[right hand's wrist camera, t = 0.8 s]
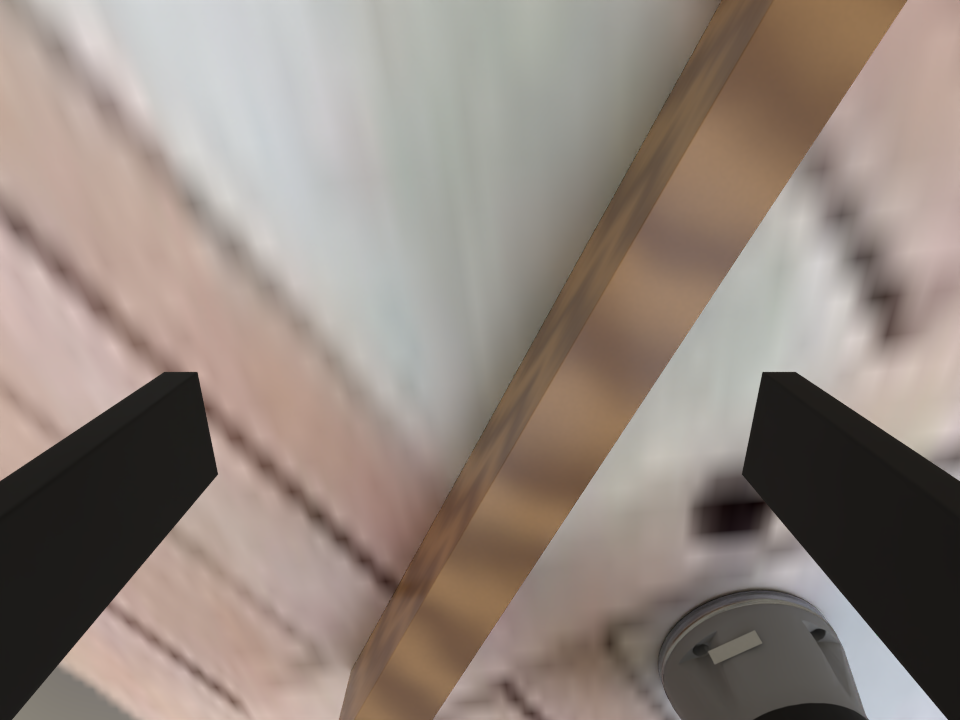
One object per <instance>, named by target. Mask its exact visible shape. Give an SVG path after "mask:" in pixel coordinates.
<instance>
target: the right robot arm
mask: <svg viewBox="0 0 960 720" xmlns="http://www.w3.org/2000/svg"><path fill="white" fill-rule="evenodd" d="M217 475H218V472H217V467H216V462H215V457H214V452H213V447H212V442H211V437H210V432H209V427H208V422H207V417H206V412H205V407H204V402H203V398H202V393H201V388H200V383H199V378H198V373H197V372H164V373H162V374H161V375H159V376H158V377H156V378H155V379H153V380H152V381H150V382H149V383H147V384H146V385H144V386H143V387H141V388H140V389H138V390H137V391H135V392H134V393H132V394H131V395H129V396H128V397H126V398H125V399H123V400H122V401H120V402H119V403H117V404H116V405H114V406H113V407H111V408H110V409H108V410H107V411H105V412H104V413H102V414H101V415H99V416H98V417H96V418H95V419H93V420H92V421H90V422H89V423H87V424H86V425H84V426H83V427H81V428H80V429H78V430H77V431H75V432H74V433H72V434H71V435H69V436H68V437H66V438H65V439H63V440H62V441H60V442H59V443H57V444H55V445H54V446H52V447H51V448H49V449H48V450H46V451H45V452H43V453H42V454H40V455H39V456H37V457H36V458H34V459H33V460H31V461H30V462H28V463H27V464H25V465H24V466H22V467H21V468H19V469H18V470H16V471H15V472H13V473H12V474H10V475H9V476H7V477H6V478H4V479H3V480H1V481H0V720H12V719H13V718H14V717H15V715H16V714H17V713H18V712H19V711H20V710H21V708H22V707H23V706H24V705H25V703H26V702H27V701H28V700H29V699H30V698H31V696H32V695H33V694H34V693H35V692H36V690H37V689H38V688H39V687H40V686H41V684H42V683H43V682H44V681H45V680H46V679H47V677H48V676H49V675H50V674H51V673H52V671H53V670H54V669H55V668H56V667H57V665H58V664H59V663H60V662H61V661H62V660H63V658H64V657H65V656H66V655H67V654H68V652H69V651H70V650H71V649H72V648H73V646H74V645H75V644H76V643H77V642H78V640H79V639H80V638H81V637H82V636H83V634H84V633H85V632H86V631H87V630H88V629H89V627H90V626H91V625H92V624H93V623H94V621H95V620H96V619H97V618H98V617H99V615H100V614H101V613H102V612H103V611H104V609H105V608H106V607H107V606H108V605H109V604H110V602H111V601H112V600H113V599H114V598H115V596H116V595H117V594H118V593H119V592H120V590H121V589H122V588H123V587H124V586H125V584H126V583H127V582H128V581H129V580H130V579H131V577H132V576H133V575H134V574H135V573H136V571H137V570H138V569H139V568H140V567H141V565H142V564H143V563H144V562H145V561H146V559H147V558H148V557H149V556H150V555H151V553H152V552H153V551H154V550H155V549H156V548H157V546H158V545H159V544H160V543H161V542H162V540H163V539H164V538H165V537H166V536H167V534H168V533H169V532H170V531H171V530H172V528H173V527H174V526H175V525H176V524H177V523H178V521H179V520H180V519H181V518H182V517H183V515H184V514H185V513H186V512H187V511H188V509H189V508H190V507H191V506H192V505H193V503H194V502H195V501H196V500H197V499H198V498H199V496H200V495H201V494H202V493H203V492H204V490H205V489H206V488H207V487H208V486H209V484H210V483H211V482H212V481H213V480H214V478H215V477H216V476H217ZM742 475H743V476H744V477H745V478H746V480H747V481H748V482H749V483H750V484H751V486H752V487H753V488H754V489H755V490H756V492H757V493H758V494H759V495H760V496H761V498H762V499H763V500H764V501H765V502H766V503H767V505H768V506H769V507H770V508H771V509H772V511H773V512H774V513H775V514H776V515H777V517H778V518H779V519H780V520H781V521H782V523H783V524H784V525H785V526H786V527H787V528H788V530H789V531H790V532H791V533H792V534H793V536H794V537H795V538H796V539H797V540H798V542H799V543H800V544H801V545H802V546H803V548H804V549H805V550H806V551H807V552H808V553H809V555H810V556H811V557H812V558H813V559H814V561H815V562H816V563H817V564H818V565H819V567H820V568H821V569H822V570H823V571H824V573H825V574H826V575H827V576H828V577H829V579H830V580H831V581H832V582H833V583H834V584H835V586H836V587H837V588H838V589H839V590H840V592H841V593H842V594H843V595H844V596H845V598H846V599H847V600H848V601H849V602H850V604H851V605H852V606H853V607H854V608H855V609H856V611H857V612H858V613H859V614H860V615H861V617H862V618H863V619H864V620H865V621H866V623H867V624H868V625H869V626H870V627H871V629H872V630H873V631H874V632H875V633H876V634H877V636H878V637H879V638H880V639H881V640H882V642H883V643H884V644H885V645H886V646H887V648H888V649H889V650H890V651H891V652H892V654H893V655H894V656H895V657H896V658H897V660H898V661H899V662H900V663H901V664H902V665H903V667H904V668H905V669H906V670H907V671H908V673H909V674H910V675H911V676H912V677H913V679H914V680H915V681H916V682H917V683H918V685H919V686H920V687H921V688H922V689H923V690H924V692H925V693H926V694H927V695H928V696H929V698H930V699H931V700H932V701H933V702H934V704H935V705H936V706H937V707H938V708H939V710H940V711H941V712H942V713H943V714H944V715H945V717H946V718H947V719H948V720H960V481H959V480H957V479H956V478H954V477H953V476H951V475H950V474H948V473H947V472H945V471H944V470H942V469H941V468H939V467H938V466H936V465H935V464H933V463H932V462H930V461H929V460H927V459H926V458H924V457H923V456H921V455H920V454H918V453H917V452H915V451H914V450H912V449H911V448H909V447H908V446H906V445H905V444H903V443H901V442H900V441H898V440H897V439H895V438H894V437H892V436H891V435H889V434H888V433H886V432H885V431H883V430H882V429H880V428H879V427H877V426H876V425H874V424H873V423H871V422H870V421H868V420H867V419H865V418H864V417H862V416H861V415H859V414H858V413H856V412H855V411H853V410H852V409H850V408H849V407H847V406H846V405H844V404H843V403H841V402H840V401H838V400H837V399H835V398H834V397H832V396H831V395H829V394H828V393H826V392H825V391H823V390H822V389H820V388H819V387H817V386H816V385H814V384H813V383H811V382H810V381H808V380H807V379H805V378H804V377H802V376H801V375H799V374H798V373H796V372H763V373H762V378H761V383H760V388H759V393H758V398H757V402H756V407H755V412H754V417H753V422H752V427H751V432H750V437H749V442H748V447H747V452H746V457H745V462H744V467H743V472H742ZM658 669H659V675H660V678H661V681H662V684H663V687H664V690H665V693H666V695H667V697H668V699H669V701H670V703H671V704H672V706H673V708H674V710H675V711H676V713H677V714H678V715H679V717H680V718H681V719H682V720H869V719H868V718H867V716H866V714H865V711H864V708H863V705H862V702H861V699H860V696H859V693H858V690H857V688H856V685H855V682H854V679H853V676H852V673H851V670H850V667H849V664H848V661H847V658H846V655H845V652H844V649H843V646H842V644H841V642H840V641H839V639H838V637H837V635H836V633H835V631H834V630H833V628H832V627H831V626H830V624H829V623H828V622H827V620H826V619H825V618H824V616H823V615H822V614H821V613H820V612H819V611H818V610H817V609H816V608H815V607H814V606H812V605H811V604H810V603H808V602H806V601H804V600H803V599H800V598H798V597H796V596H793V595H790V594H786V593H781V592H775V591H746V592H740V593H734V594H730V595H726V596H723V597H720V598H717V599H715V600H712V601H710V602H708V603H706V604H704V605H702V606H700V607H698V608H697V609H695V610H693V611H692V612H690V613H689V614H688V615H686V616H685V617H684V618H683V619H682V620H680V621H679V622H678V623H677V624H676V625H675V627H674V628H673V629H672V630H671V631H670V633H669V634H668V636H667V637H666V639H665V641H664V643H663V645H662V648H661V650H660V654H659V660H658Z"/></svg>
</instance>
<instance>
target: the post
mask: <svg viewBox="0 0 960 720" xmlns="http://www.w3.org/2000/svg"><path fill="white" fill-rule="evenodd" d="M906 2H907V0H722V1H721V3H720V5H719V7H718V8H717V10H716V12H715V14H714V16H713V17H712V19H711V21H710V23H709V25H708V27H707V28H706V30H705V32H704V34H703V36H702V37H701V39H700V41H699V43H698V45H697V46H696V48H695V50H694V52H693V54H692V55H691V57H690V59H689V61H688V63H687V64H686V66H685V68H684V70H683V72H682V74H681V75H680V77H679V79H678V81H677V83H676V84H675V86H674V88H673V90H672V92H671V93H670V95H669V97H668V99H667V101H666V102H665V104H664V106H663V108H662V110H661V112H660V113H659V115H658V117H657V119H656V121H655V122H654V124H653V126H652V128H651V130H650V131H649V133H648V135H647V137H646V139H645V140H644V142H643V144H642V146H641V148H640V150H639V151H638V153H637V155H636V157H635V159H634V160H633V162H632V164H631V166H630V168H629V169H628V171H627V173H626V175H625V177H624V178H623V180H622V182H621V184H620V186H619V187H618V189H617V191H616V193H615V195H614V197H613V198H612V200H611V202H610V204H609V206H608V207H607V209H606V211H605V213H604V215H603V216H602V218H601V220H600V222H599V224H598V225H597V227H596V229H595V231H594V233H593V235H592V236H591V238H590V240H589V242H588V244H587V245H586V247H585V249H584V251H583V253H582V254H581V256H580V258H579V260H578V262H577V263H576V265H575V267H574V269H573V271H572V273H571V274H570V276H569V278H568V280H567V282H566V283H565V285H564V287H563V289H562V291H561V292H560V294H559V296H558V298H557V300H556V301H555V303H554V305H553V307H552V309H551V310H550V312H549V314H548V316H547V318H546V320H545V321H544V323H543V325H542V327H541V329H540V330H539V332H538V334H537V336H536V338H535V339H534V341H533V343H532V345H531V347H530V348H529V350H528V352H527V354H526V356H525V358H524V359H523V361H522V363H521V365H520V367H519V368H518V370H517V372H516V374H515V376H514V377H513V379H512V381H511V383H510V385H509V386H508V388H507V390H506V392H505V394H504V396H503V397H502V399H501V401H500V403H499V405H498V406H497V408H496V410H495V412H494V414H493V415H492V417H491V419H490V421H489V423H488V424H487V426H486V428H485V430H484V432H483V433H482V435H481V437H480V439H479V441H478V443H477V444H476V446H475V448H474V450H473V452H472V453H471V455H470V457H469V459H468V461H467V462H466V464H465V466H464V468H463V470H462V471H461V473H460V475H459V477H458V479H457V481H456V482H455V484H454V486H453V488H452V490H451V491H450V493H449V495H448V497H447V499H446V500H445V502H444V504H443V506H442V508H441V509H440V511H439V513H438V515H437V517H436V519H435V520H434V522H433V524H432V526H431V528H430V529H429V531H428V533H427V535H426V537H425V538H424V540H423V542H422V544H421V546H420V547H419V549H418V551H417V553H416V555H415V557H414V558H413V560H412V562H411V564H410V566H409V567H408V569H407V571H406V573H405V575H404V576H403V578H402V580H401V582H400V584H399V585H398V587H397V589H396V591H395V593H394V594H393V596H392V598H391V600H390V602H389V604H388V605H387V607H386V609H385V611H384V613H383V614H382V616H381V618H380V620H379V622H378V623H377V625H376V627H375V629H374V631H373V632H372V634H371V636H370V638H369V640H368V642H367V643H366V645H365V647H364V649H363V651H362V652H361V654H360V656H359V658H358V660H357V661H356V663H355V665H354V667H353V669H352V670H351V673H350V677H349V681H348V685H347V689H346V693H345V697H344V701H343V706H342V710H341V714H340V718H339V720H433V718H434V717H435V715H436V714H437V712H438V711H439V709H440V708H441V706H442V705H443V703H444V702H445V700H446V698H447V697H448V695H449V694H450V692H451V691H452V689H453V688H454V686H455V685H456V683H457V682H458V680H459V679H460V677H461V676H462V674H463V673H464V671H465V670H466V668H467V667H468V665H469V664H470V662H471V661H472V659H473V658H474V656H475V655H476V653H477V652H478V650H479V648H480V647H481V645H482V644H483V642H484V641H485V639H486V638H487V636H488V635H489V633H490V632H491V630H492V629H493V627H494V626H495V624H496V623H497V621H498V620H499V618H500V617H501V615H502V614H503V612H504V611H505V609H506V608H507V606H508V605H509V603H510V602H511V600H512V598H513V597H514V595H515V594H516V592H517V591H518V589H519V588H520V586H521V585H522V583H523V582H524V580H525V579H526V577H527V576H528V574H529V573H530V571H531V570H532V568H533V567H534V565H535V564H536V562H537V561H538V559H539V558H540V556H541V555H542V553H543V552H544V550H545V548H546V547H547V545H548V544H549V542H550V541H551V539H552V538H553V536H554V535H555V533H556V532H557V530H558V529H559V527H560V526H561V524H562V523H563V521H564V520H565V518H566V517H567V515H568V514H569V512H570V511H571V509H572V508H573V506H574V505H575V503H576V502H577V500H578V498H579V497H580V495H581V494H582V492H583V491H584V489H585V488H586V486H587V485H588V483H589V482H590V480H591V479H592V477H593V476H594V474H595V473H596V471H597V470H598V468H599V467H600V465H601V464H602V462H603V461H604V459H605V458H606V456H607V455H608V453H609V452H610V450H611V448H612V447H613V445H614V444H615V442H616V441H617V439H618V438H619V436H620V435H621V433H622V432H623V430H624V429H625V427H626V426H627V424H628V423H629V421H630V420H631V418H632V417H633V415H634V414H635V412H636V411H637V409H638V408H639V406H640V405H641V403H642V402H643V400H644V398H645V397H646V395H647V394H648V392H649V391H650V389H651V388H652V386H653V385H654V383H655V382H656V380H657V379H658V377H659V376H660V374H661V373H662V371H663V370H664V368H665V367H666V365H667V364H668V362H669V361H670V359H671V358H672V356H673V355H674V353H675V352H676V350H677V348H678V347H679V345H680V344H681V342H682V341H683V339H684V338H685V336H686V335H687V333H688V332H689V330H690V329H691V327H692V326H693V324H694V323H695V321H696V320H697V318H698V317H699V315H700V314H701V312H702V311H703V309H704V308H705V306H706V305H707V303H708V302H709V300H710V298H711V297H712V295H713V294H714V292H715V291H716V289H717V288H718V286H719V285H720V283H721V282H722V280H723V279H724V277H725V276H726V274H727V273H728V271H729V270H730V268H731V267H732V265H733V264H734V262H735V261H736V259H737V258H738V256H739V255H740V253H741V252H742V250H743V248H744V247H745V245H746V244H747V242H748V241H749V239H750V238H751V236H752V235H753V233H754V232H755V230H756V229H757V227H758V226H759V224H760V223H761V221H762V220H763V218H764V217H765V215H766V214H767V212H768V211H769V209H770V208H771V206H772V205H773V203H774V202H775V200H776V198H777V197H778V195H779V194H780V192H781V191H782V189H783V188H784V186H785V185H786V183H787V182H788V180H789V179H790V177H791V176H792V174H793V173H794V171H795V170H796V168H797V167H798V165H799V164H800V162H801V161H802V159H803V158H804V156H805V155H806V153H807V152H808V150H809V148H810V147H811V145H812V144H813V142H814V141H815V139H816V138H817V136H818V135H819V133H820V132H821V130H822V129H823V127H824V126H825V124H826V123H827V121H828V120H829V118H830V117H831V115H832V114H833V112H834V111H835V109H836V108H837V106H838V105H839V103H840V102H841V100H842V98H843V97H844V95H845V94H846V92H847V91H848V89H849V88H850V86H851V85H852V83H853V82H854V80H855V79H856V77H857V76H858V74H859V73H860V71H861V70H862V68H863V67H864V65H865V64H866V62H867V61H868V59H869V58H870V56H871V55H872V53H873V52H874V50H875V48H876V47H877V45H878V44H879V42H880V41H881V39H882V38H883V36H884V35H885V33H886V32H887V30H888V29H889V27H890V26H891V24H892V23H893V21H894V20H895V18H896V17H897V15H898V14H899V12H900V11H901V9H902V8H903V6H904V5H905V3H906Z"/></svg>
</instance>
